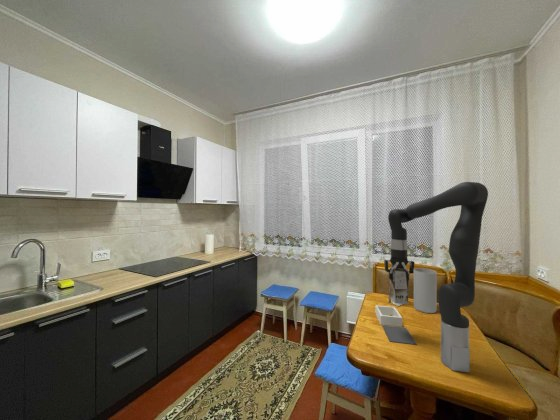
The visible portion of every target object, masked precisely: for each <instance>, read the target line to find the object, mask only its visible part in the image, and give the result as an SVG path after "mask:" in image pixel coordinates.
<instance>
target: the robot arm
mask: <svg viewBox="0 0 560 420" xmlns="http://www.w3.org/2000/svg"><path fill="white" fill-rule="evenodd" d="M488 197H489V190H488V188H487V187H486V186H485V184H483V183H480V182H477V181H476V182H475V181H473V182H472V181H465V182H460V183H458V184H456V185H454V186H452V187H451V188H449V189H447V190H445V191H443V192H441V193H438V194H437V195H434V196H432V197H429V198H426V199H423V200H421V201H417V202H415V203H412V204H409V205H408V206H407V207H405V208H402V209H401V208H400V209H399V208H396V209H395V208H394V209H391V210H390V211H389V213H388V216H387V217H388V224H389V227H390V230H391V234H390V235H391V240H390V259H384V260H383V262H384V263H383V264H384V271H385V272H386V273H388V279H389V281H390V280H391V281H393V270H395V268H401V269H404V270H407V271H408V282H409V281H410V274H414V269H415V261H414V260H408V235H407V234H408V231H407V228H405V227H403V225H402V224H405V223H408V222H412V221H414V220H415V219H419V218H423V217H426V216H429V215H432V214H434V213H436V212H438V211H441V210H443V209H446V208H451V207H458V206H460V214H459V218H458V220H457V222H456V224H455V226H454V228H453V230H452V232H451V234H450V238H449V244H448V253H449V258H450V259H451V261H452V264H453V267H454V269H455V276H454V281H453V283H443V284H442V285H440V286H439V288H438V290H437V291H438V292H437V301H438V303H437V304H438V313H439V315H440V361H441V363H442V364H443V365H444V366H446V367H447V368H448V369H451V371H453V372H454V371H455V372H461V373H462V372H463V373H470V372H471V371H470V368H471V367H470V364H471V363H470V362H471V356H470V355H471V353H470V352H471V349H470V320H469V318H468V317H467V316H466V315H464V314H462V312H461V308H465V307H469V306H472V305H473V303H474V301H475V296H476V292H475V291H476V282H475V281H476V269H477V261H478V256H479V255H478V253H479V247H480V241H481V240H480V239H481V232H482V231H481V230H482V221H483V215H484V212H485V208H486V204H487V202H488ZM389 264H391V266H390V267H389ZM407 265H409V269H408V268H407Z"/></svg>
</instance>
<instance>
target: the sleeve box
mask: <svg viewBox="0 0 560 420" xmlns="http://www.w3.org/2000/svg"><path fill="white" fill-rule="evenodd" d="M374 307H375V309H374V310H375V312H374V313H376V314H375V315H376V318H377V319H378V323H379V325H381V326H382V325H383V326H393V327H402V328H403V317H402V315H401V314H400V312H399V311H398V309H397V307H396V306H388V305H386V306H385V305H376V304H375V306H374ZM390 315H392V316H390Z"/></svg>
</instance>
